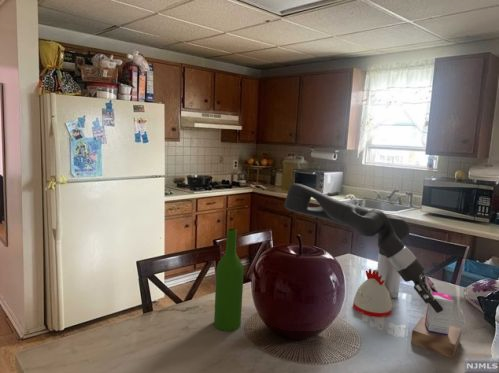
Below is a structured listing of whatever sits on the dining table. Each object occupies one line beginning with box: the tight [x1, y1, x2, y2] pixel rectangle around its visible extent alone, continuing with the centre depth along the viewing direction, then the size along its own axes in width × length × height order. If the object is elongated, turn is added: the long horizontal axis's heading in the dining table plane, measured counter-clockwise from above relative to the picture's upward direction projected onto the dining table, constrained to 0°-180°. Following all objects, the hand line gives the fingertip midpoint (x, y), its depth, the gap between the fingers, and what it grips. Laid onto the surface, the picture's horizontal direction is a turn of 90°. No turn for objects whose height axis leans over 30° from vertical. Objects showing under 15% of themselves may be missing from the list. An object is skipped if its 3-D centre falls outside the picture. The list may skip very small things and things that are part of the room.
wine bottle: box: [213, 228, 244, 332], centre depth 121 cm, size 9×9×32 cm
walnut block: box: [410, 316, 463, 359], centre depth 118 cm, size 12×12×5 cm
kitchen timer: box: [352, 268, 393, 318], centre depth 140 cm, size 14×14×15 cm
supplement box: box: [425, 291, 455, 335], centre depth 117 cm, size 6×6×12 cm
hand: (440, 305), depth 116 cm, fingers open, 8 cm apart
